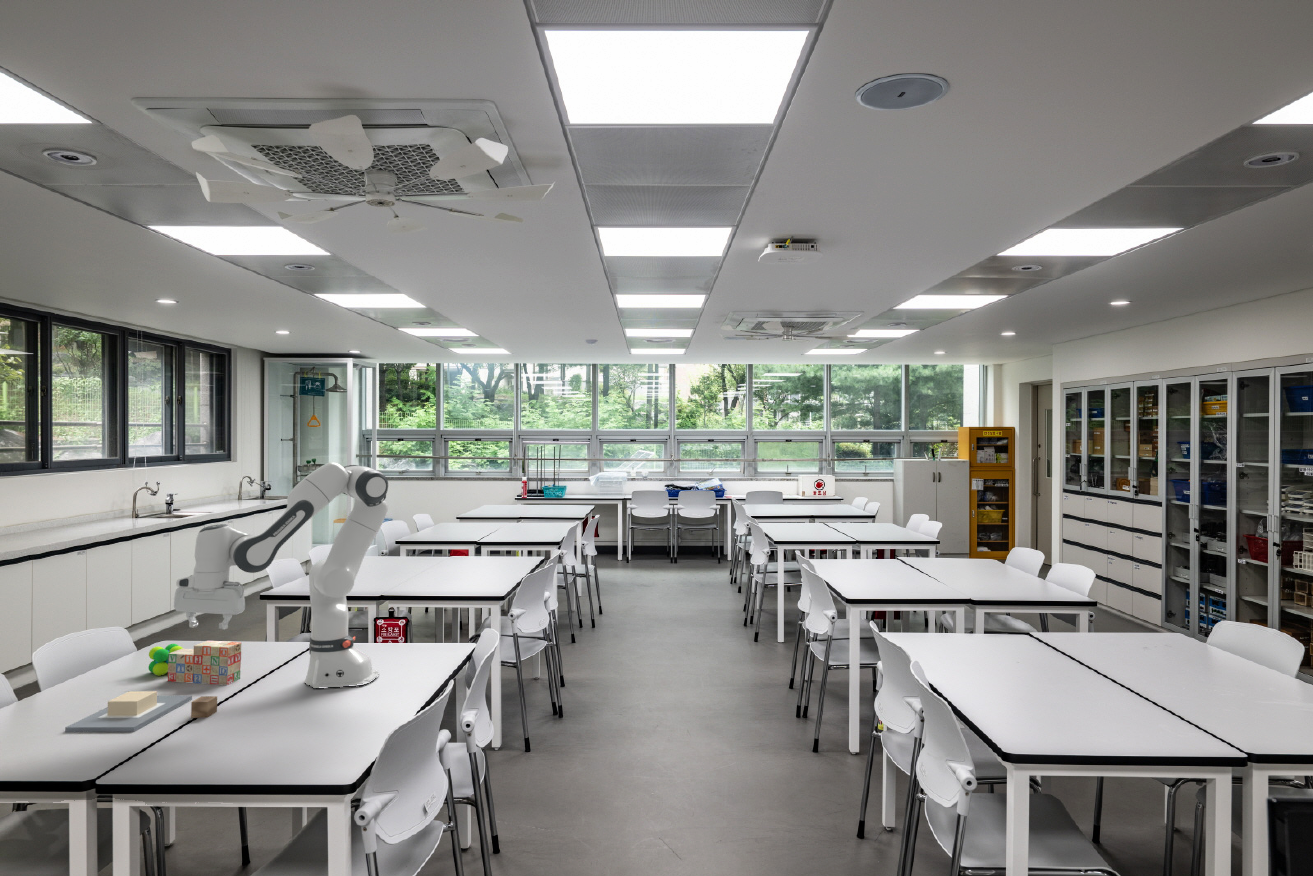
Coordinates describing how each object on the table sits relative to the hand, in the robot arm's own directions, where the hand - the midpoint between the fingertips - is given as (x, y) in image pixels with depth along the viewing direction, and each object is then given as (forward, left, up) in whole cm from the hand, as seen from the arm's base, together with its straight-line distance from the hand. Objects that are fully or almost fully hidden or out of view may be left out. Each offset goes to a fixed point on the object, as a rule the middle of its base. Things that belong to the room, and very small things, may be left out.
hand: (208, 628), depth 200 cm
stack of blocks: (+17, -26, -24) cm, 39 cm away
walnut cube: (-2, +4, -24) cm, 24 cm away
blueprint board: (+18, +4, -24) cm, 30 cm away
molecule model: (+34, -34, -24) cm, 54 cm away
